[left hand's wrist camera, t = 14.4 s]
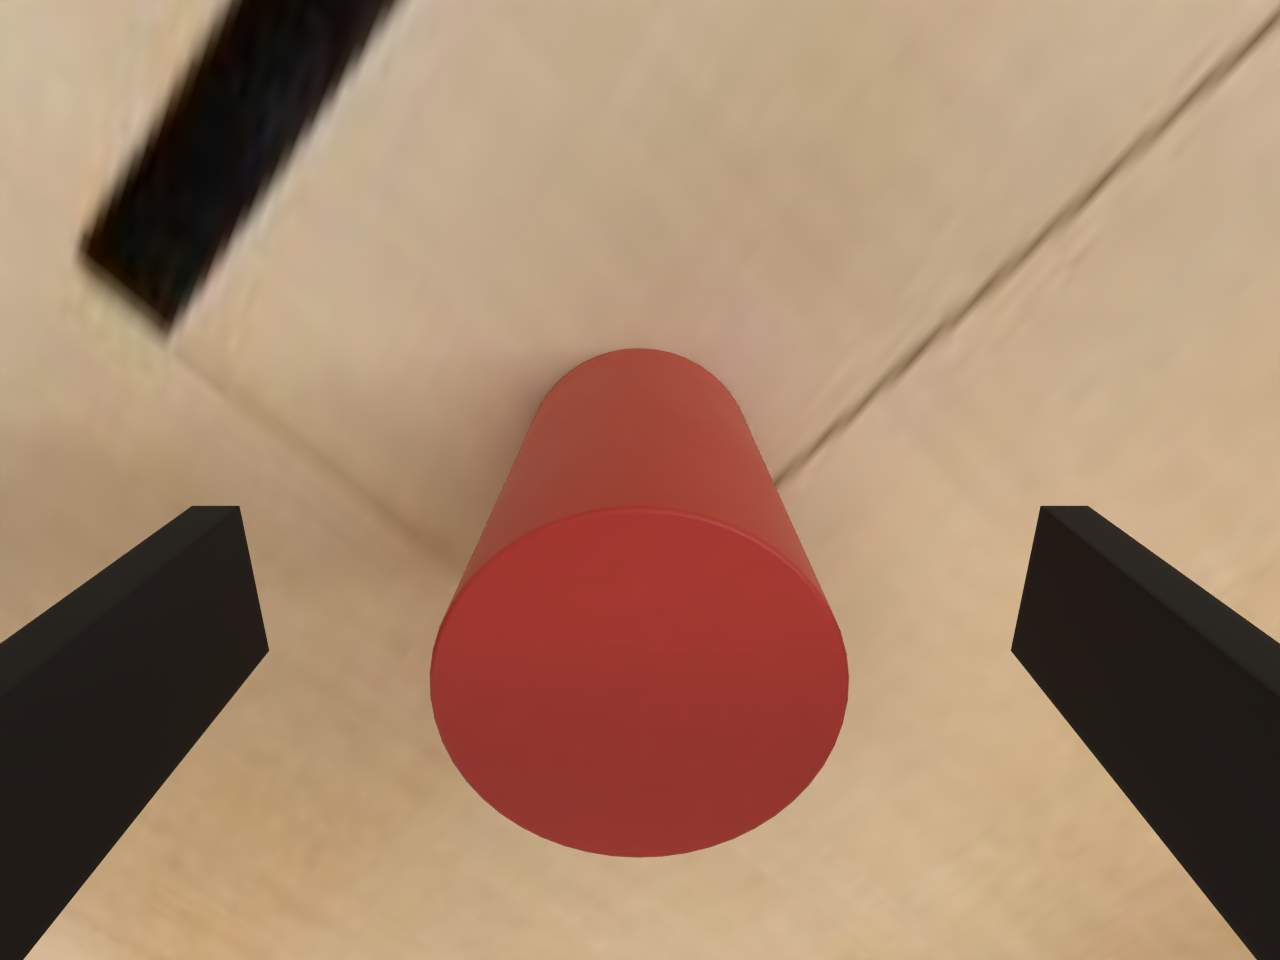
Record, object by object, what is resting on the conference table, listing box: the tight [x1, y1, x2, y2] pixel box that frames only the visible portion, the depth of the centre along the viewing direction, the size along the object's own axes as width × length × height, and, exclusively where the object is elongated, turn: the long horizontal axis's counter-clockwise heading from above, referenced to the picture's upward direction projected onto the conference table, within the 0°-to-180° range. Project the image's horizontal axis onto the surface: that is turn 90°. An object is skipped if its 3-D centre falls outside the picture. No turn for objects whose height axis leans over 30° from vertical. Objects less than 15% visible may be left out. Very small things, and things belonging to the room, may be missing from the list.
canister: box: [430, 349, 849, 857], centre depth 14 cm, size 5×5×9 cm
